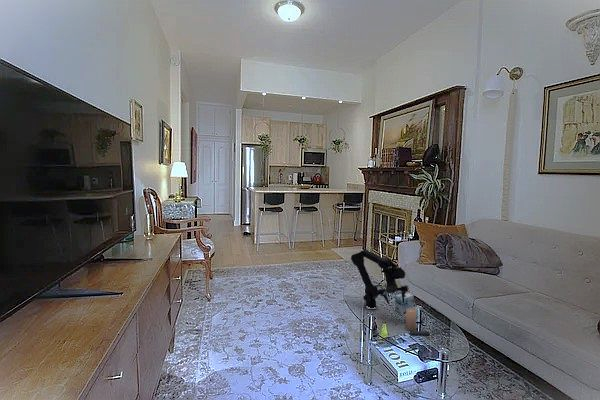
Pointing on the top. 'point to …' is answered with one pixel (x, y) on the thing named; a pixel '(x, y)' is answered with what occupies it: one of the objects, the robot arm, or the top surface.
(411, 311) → the terracotta jar
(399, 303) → the light bulb box
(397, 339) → the top surface
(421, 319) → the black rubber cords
